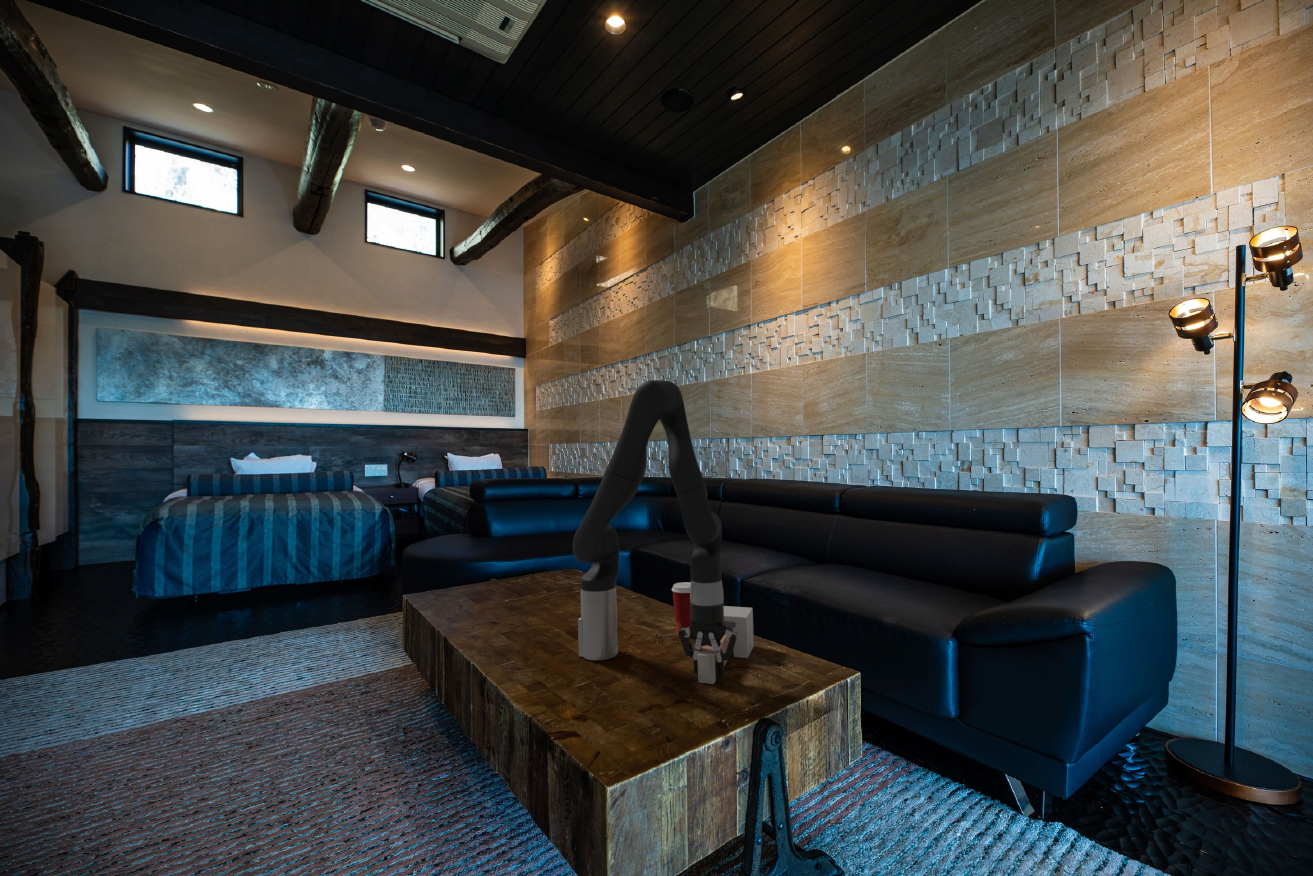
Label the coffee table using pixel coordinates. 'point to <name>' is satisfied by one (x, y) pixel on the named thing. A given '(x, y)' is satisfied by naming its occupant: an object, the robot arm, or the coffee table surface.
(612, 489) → the robot arm
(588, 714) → the coffee table surface
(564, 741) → the coffee table surface
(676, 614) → the paper cup
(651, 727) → the coffee table surface
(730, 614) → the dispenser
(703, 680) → the pink white-banded pillar
